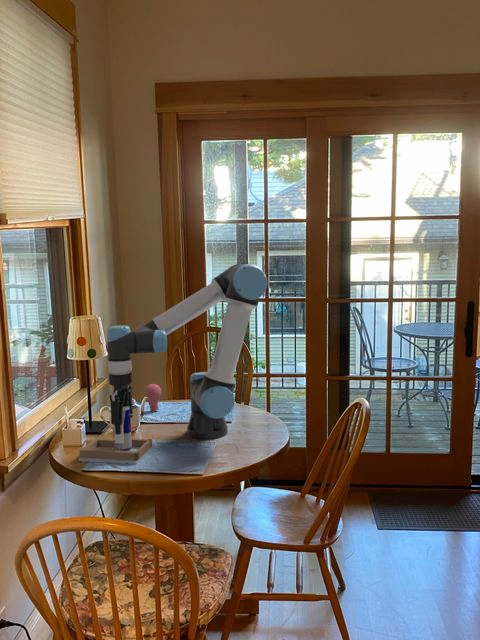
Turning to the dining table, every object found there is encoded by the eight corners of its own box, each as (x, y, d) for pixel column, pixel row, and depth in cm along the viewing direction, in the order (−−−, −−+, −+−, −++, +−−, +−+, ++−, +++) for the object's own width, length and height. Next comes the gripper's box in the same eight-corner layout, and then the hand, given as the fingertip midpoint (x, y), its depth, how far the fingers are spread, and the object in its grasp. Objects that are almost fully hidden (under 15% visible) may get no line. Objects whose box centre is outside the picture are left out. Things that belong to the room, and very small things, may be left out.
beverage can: (128, 454, 190) (126, 410, 188) (112, 453, 191) (110, 409, 189) (134, 448, 195) (132, 405, 194) (118, 447, 196) (117, 405, 195)
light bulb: (143, 413, 242) (141, 385, 240) (148, 408, 249) (147, 381, 247) (159, 414, 240) (158, 386, 239) (164, 409, 247) (163, 382, 246)
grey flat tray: (153, 447, 200) (152, 438, 199) (136, 464, 184) (135, 454, 184) (99, 444, 204) (99, 435, 203) (78, 461, 188) (78, 451, 188)
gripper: (120, 366, 200) (123, 430, 202) (97, 378, 182) (101, 448, 184) (140, 366, 198) (143, 431, 201) (120, 378, 180) (123, 449, 183)
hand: (123, 439), depth 193 cm, fingers closed on beverage can, 5 cm apart
